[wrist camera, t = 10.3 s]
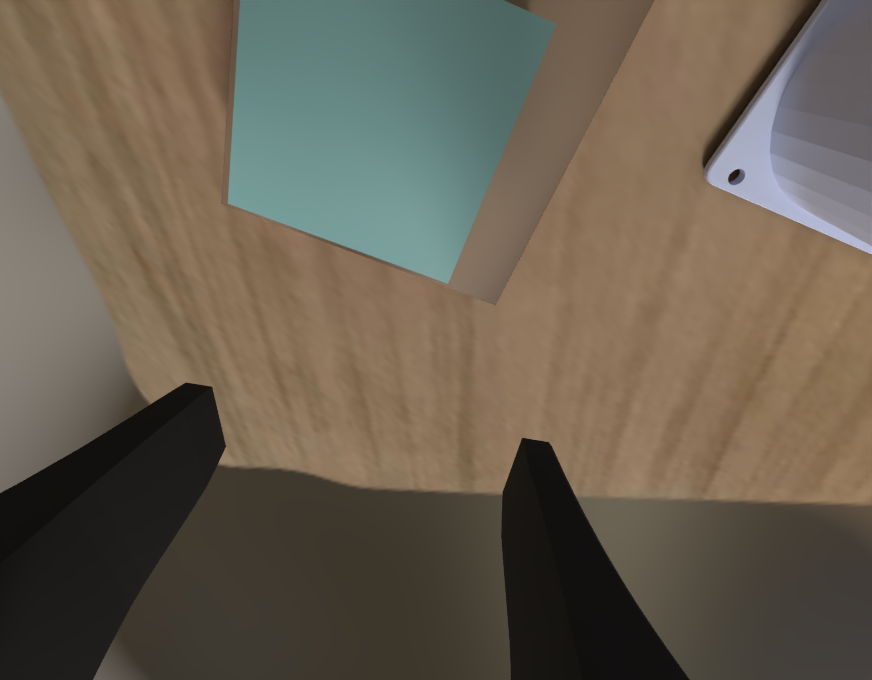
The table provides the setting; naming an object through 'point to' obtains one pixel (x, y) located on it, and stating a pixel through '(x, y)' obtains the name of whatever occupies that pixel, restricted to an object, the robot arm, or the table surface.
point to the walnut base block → (523, 134)
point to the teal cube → (378, 118)
